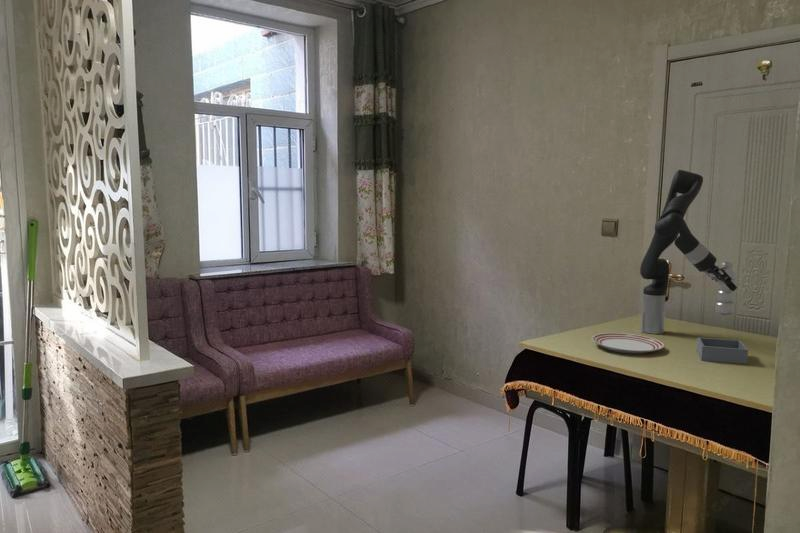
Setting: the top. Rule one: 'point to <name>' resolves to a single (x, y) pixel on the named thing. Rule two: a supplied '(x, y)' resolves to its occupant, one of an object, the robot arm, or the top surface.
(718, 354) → the tray
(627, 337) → the dinner plate
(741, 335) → the top surface
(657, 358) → the top surface
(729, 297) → the plastic bottle
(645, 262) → the robot arm
